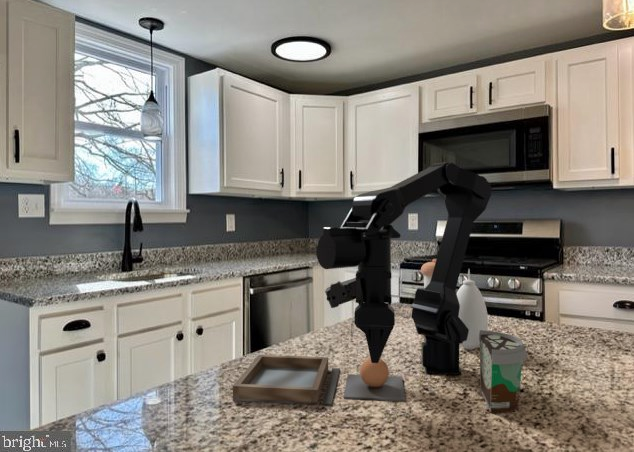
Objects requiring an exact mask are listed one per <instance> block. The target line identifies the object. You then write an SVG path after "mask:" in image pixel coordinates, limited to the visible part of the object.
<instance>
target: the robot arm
mask: <svg viewBox="0 0 634 452" xmlns="http://www.w3.org/2000/svg"><path fill="white" fill-rule="evenodd" d="M436 190H437V192H438V193H439V194H440V195H442V196H443V197H444V206H445V210H446V213H447V220H446V224H445V227H444V231H443V235H442V237H441V242H440V246H439V248H438V253H437V256H436V258H435V259H436V263H435V266H434V270H433V274H432V277H431V281H430V283H429V284H428V285H427V286H426V287H425V288H424V287H423V288H420V287H418V288H417V289H416V291H415V292H414V299H413V301H412V304H411V306H410V308H411V309H412V310H411V318H412V320H413V323H414V326H415V329H416V333H417V335H420V336H421V335H424V337H423V338H424V339H423V340H424V341H423V342H421V365H422V367H423V368H424V370H425V373H426V374H440V375H445V374H446V375H462V370H461V368H460V344H461V343H463V341H466V340H467V337H468V332H469V329H468V328H467V327H466V325H465V324H464V323H463V322H462V320H461V319H460V318H459V317H458V316H459V309H460V304H459V301H458V298H457V290H456V289H457V286H458V282H459V278H460V275H461V272H462V267H463V263H464V259H465V256H466V252H467V247H468V244H469V240H470V236H471V233H472V229H473V226H474V223H475V221H476V220H477V219H478V218H479V217H480V216H481V215H482V214H483V213H484V211H485V210H486V209H487V206H488V203H489V201H490V198H491V195H492V191H493V190H492V186H491V183H490V182H489V181H488V180H487V178H486V177H485V176H482V175H480V174H478V173H477V172H474V171H470V170H468V169H464V168H462V167H459V166H458V165H457V164H456V163H453V162H451V161H445V162H439V163H432V164H431V165H430V166H428V167H427V168H425V169H423V170H422V171H419V172H418V173H416V174H414V175H411V176H410V177H407V178H405V179H404V180H402V181H400V182H398V183H396V184H394V185H392V186H390V187H386V188H381V189H377V190H376V189H375V190H371V191H366V192H363V193H359V194H358V195H356V196H355V197H354V198H353V200H352V205H351V209H350V210H349V212H348V213H347V215H346V217H345V218H344V220H343V222H342V224H341V225H340V227H333V226H330V227H329V226H324V227H323V228H322V233H323V234H322V235H321V236H320V237H319V239H318V241H317V246H315V249H316V250H315V253H316V259H317V262H318V264H319V266H320V267H321V268H322V269H323V270H333V269H335V270H336V269H344V268H354V267H357V270H356V273H355V277H354V278H351V279H347V280H345V281H342V282H341V281H340V280H339V281H336V282H335V283H331V284H330V286H328V287H327V288H326V289H325V290H324V293H325V295H326V300H327V302H328V304H329V306H330V308H331V309H335V308H337V307H339V306H340V305H343V304H345V303H348V302H351V301H354V300H355V303H356V304H358V305H357V306H356V307H355V309H354V313H353V314H354V315H353V316H354V317H353V318H354V323H353V324H354V325H355V327H356V328H357V329H359V330H360V331H361V332H362V333H364V335H365V340H366V343H367V347H368V353H369V358H371V362H372V363H378V362H379V360H380V359H381V357H382V355H383V353H384V350H385V347H386V345H387V342H388V340H389V338H390V335H391V333H392V331H393V329H394V327H395V320H396V319H395V317H396V316H395V309H394V308H393V307H392V306H391V305H392V302H393V301H392V298H393V297H392V251H391V250H392V246H391V245H392V239H400V238H401V234H400V232H399V231H398V230H396V229H395V228H394V227H393V225H392V224H393V223H394V222H395V221H397V220H398V219H399V218H400V217H401V216H403V214H404V212H405V210H406V208H407V207H408V206H409V205H411V204H412V203H414V202H416V201H418V200H420V199H421V198H424V197H426V196H427V195H428V194H431V193H432V192H434V191H436Z"/></svg>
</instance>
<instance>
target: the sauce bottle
mask: <svg viewBox="0 0 634 452" xmlns="http://www.w3.org/2000/svg"><path fill="white" fill-rule="evenodd" d="M470 271H471V270H470V269H468V271H467V279H465V280H463V281H462V285H461V286H460V287H459V289H458V290H457V291H456V294H457V298H458V301H459V304H460V309H459V316H458V317H459V318H460V319H461V320H462V322H463V323H464V324H465V325H466V327H467V328H468V329H469V332H468V337H467V340H466V341H463V343H461V344H459V346H461V347H462V348H464V349H465V350H469V351H471V350H474V349H476V348H478V346H480V341H479V333H480V330H485V331H488V327H489V325H488V324H489V319H488V316H489V315H488V311H487V306H486V302H485V300H484V297H483V294H482V293H481V291H480V289H479V288H478V286H477V285H476V281H475V280H472V279H471V274H470V273H471V272H470Z"/></svg>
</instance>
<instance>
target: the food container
mask: <svg viewBox="0 0 634 452" xmlns="http://www.w3.org/2000/svg"><path fill="white" fill-rule="evenodd" d="M479 341H480V345H479V377H480V380H479V381H480V383H479V385H480V391H481V393H482V396H483V398H484V400H485V403H486V405H487V408H488V410H489V412H490V413H493V414H495V413H496V414H503V413H510V412H513V411H515V410H517V408H518V407H519V404H520V403H519V401H520V392H521V391H520V388H521V382H522V381H521V379H522V370H523V369H522V367H523V362H524V361H526V360H527V359H528V354H527V353H528V352H527V350H526V346H525V344H524V341H523V340H522V339H520V338H519V337H517V336H514V335H511V334H508V333H504V332H499V331H493V330H487V331H485V330H480V333H479Z"/></svg>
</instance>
